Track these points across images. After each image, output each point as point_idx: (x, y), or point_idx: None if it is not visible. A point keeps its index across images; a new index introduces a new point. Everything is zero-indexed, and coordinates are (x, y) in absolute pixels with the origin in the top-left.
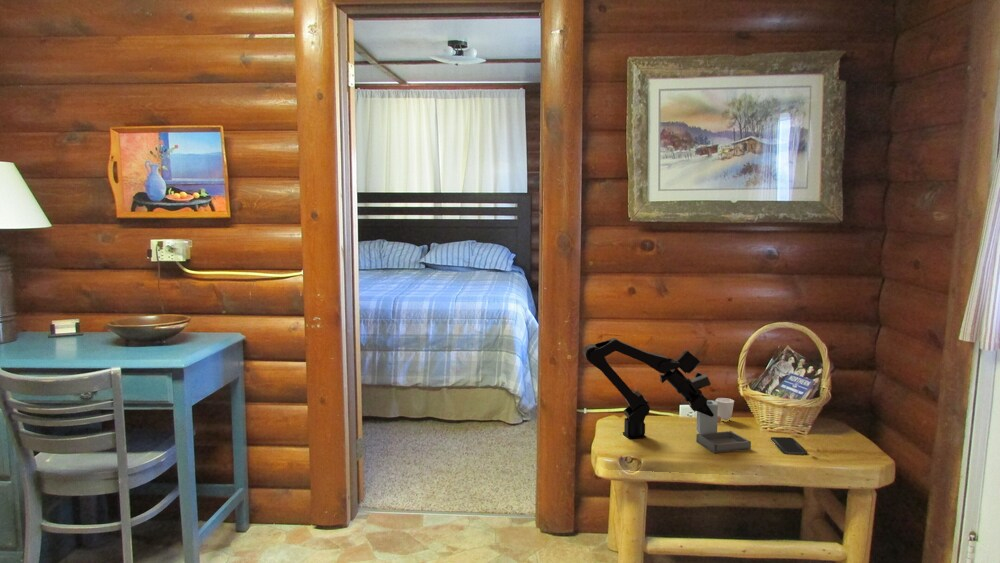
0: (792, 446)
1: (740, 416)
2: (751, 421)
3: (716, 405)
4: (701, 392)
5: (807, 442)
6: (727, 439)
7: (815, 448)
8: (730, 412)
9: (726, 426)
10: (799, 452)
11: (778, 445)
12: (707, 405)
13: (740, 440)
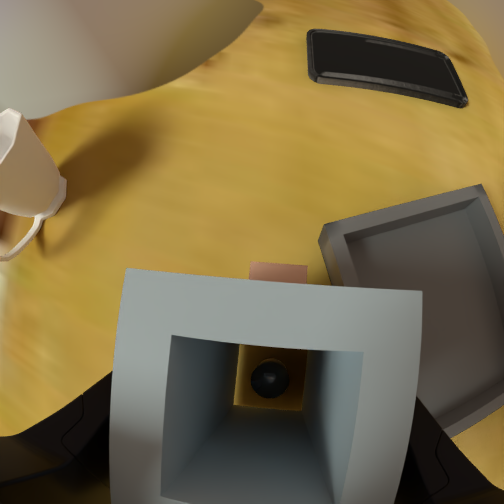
0: (401, 58)
1: (34, 132)
2: (87, 103)
3: (419, 313)
4: (1, 488)
5: (329, 17)
6: (375, 273)
7: (381, 22)
8: (45, 153)
9: (114, 206)
10: (455, 70)
11: (404, 87)
12: (475, 468)
13: (428, 216)
